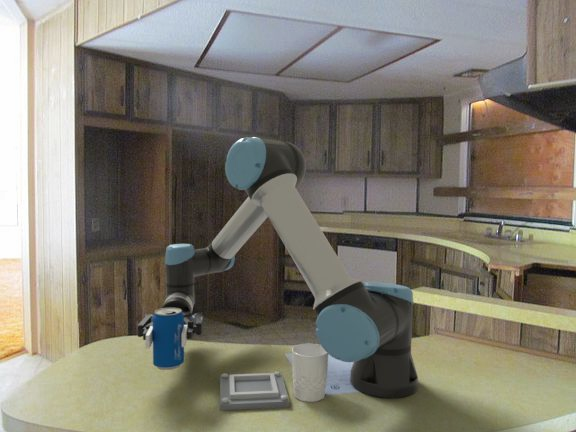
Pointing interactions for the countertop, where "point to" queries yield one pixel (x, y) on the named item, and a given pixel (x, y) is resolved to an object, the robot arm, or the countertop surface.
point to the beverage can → (168, 338)
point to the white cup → (309, 371)
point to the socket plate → (252, 391)
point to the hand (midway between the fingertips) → (165, 341)
